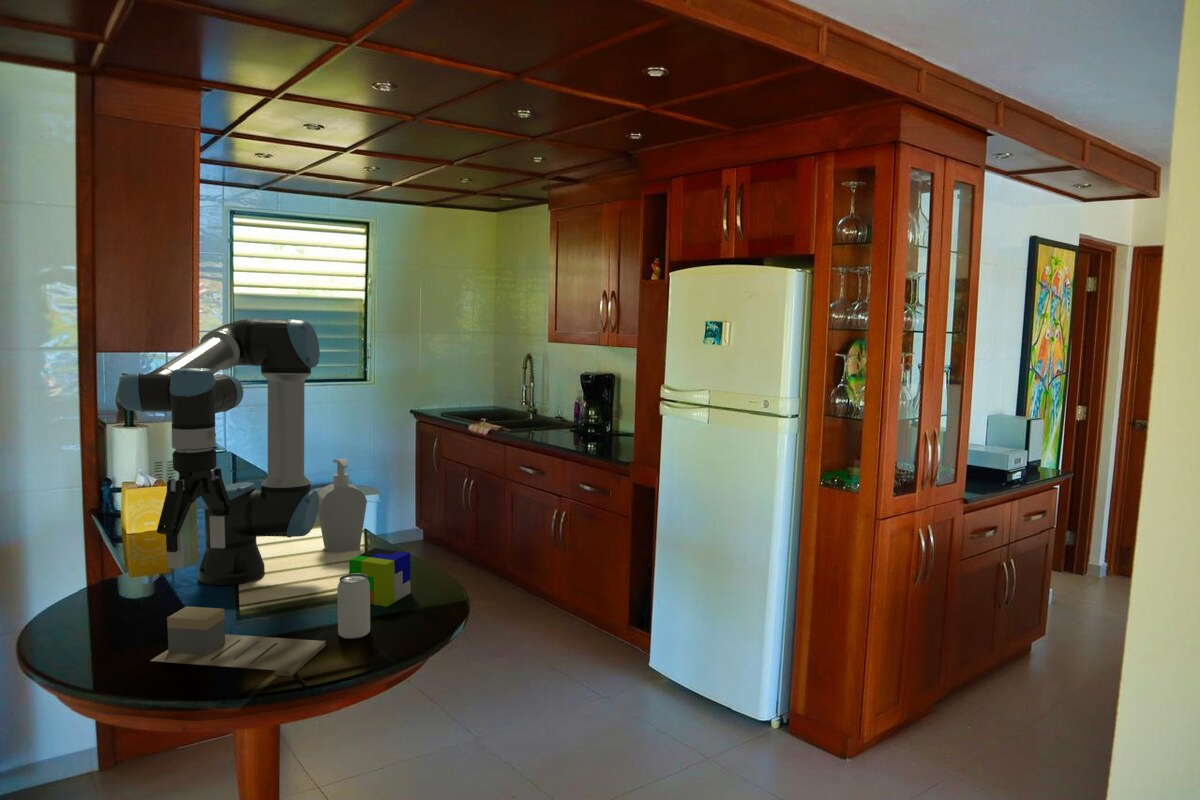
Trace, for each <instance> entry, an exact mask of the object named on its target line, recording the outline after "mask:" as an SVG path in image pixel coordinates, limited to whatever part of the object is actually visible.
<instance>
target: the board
mask: <svg viewBox="0 0 1200 800" xmlns="http://www.w3.org/2000/svg"><path fill="white" fill-rule="evenodd" d="M326 645H327V644H326V640H314V639H302V638H301V639H300V638H285V637H270V636H257V635H256V636H255V635H241V634H230V633H229V634H227V633H225V643H224V644H223V645H221V646H220V647H219V648H217V649H216V650H214V651H213V652H211V653H210V654H209V655H197V654H183V653H169V652H168V649H167V650H165V651H164V652H161V653H160V654H158V655H157V656H155V657H154V658H151V659H150V660H149V662H156V663H157V662H158V663H169V664H171V663H173V664H186V665H199V666H211V667H212V666H215V667H224V668H225V667H227V668H241V669H242V668H243V669H253V670H255V669H256V670H266V671H267V670H268V671H273V672H272V673H271V674H270V675H271V676H280V677H281V676H282V677H283V676H284V677H293V676H294V675H295V674H296V673H297V672H298V671H299V670H301V668H303V667H304V666H305V665H306V664H307V663H309V662H310V660H312V658H314V657H315V656H316V655H317V654H318V653H319V652H320V651H322V650H323V649H324V648H325V647H327V646H326Z"/></svg>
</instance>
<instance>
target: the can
mask: <svg viewBox="0 0 1200 800" xmlns="http://www.w3.org/2000/svg"><path fill="white" fill-rule="evenodd" d="M367 578H368V577H367V576H366V575H364V574H349V573H348V574H345V575H341V576H339V582H338V584H337V588H336V589H337V594H336V595H337V632H338V633H337V634H338V636H340V638H341V639H347V640H355V639H356V640H357V639H360V638H361V639H362V638H364V637H366V636H367V635H368V634H369V633H370V631H371V604H370V584H369V582H368V580H367Z"/></svg>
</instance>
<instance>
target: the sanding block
mask: <svg viewBox="0 0 1200 800" xmlns="http://www.w3.org/2000/svg"><path fill="white" fill-rule="evenodd" d="M225 618H226V617H225V608H218V607H201V606H185V607H183V608H182V609H179V610H178V611H176V612H174V613H173V614H172V613H171V615H169V616H167V617H166V621H167V644H168V645H167V646H168V647H167V648H168V649H167V650H168V652H169V653H183V654H197V655H209V654H210V653H211V652H213V651H214V650H216V649H217V648H219V647H220V646H221V645H223V644H224V643H225V634H226V624H225V623H226V621H225Z"/></svg>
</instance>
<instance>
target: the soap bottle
mask: <svg viewBox="0 0 1200 800" xmlns="http://www.w3.org/2000/svg"><path fill="white" fill-rule="evenodd" d="M332 463H336V473H334V474H333V476H332V477H333V483H330V484H328V485H326V486H324V487H323V488H321V490H320V491H318V497H319V509H318V514H317V516H318V520H319V525H320V531H321V536H322V541H323V542H322V543H323V545H324V549H325V550H326V551H327V553H328V554H337V553H345V552H353V551H359V550H360V549H361V542H362V537H363V536H362V535H363V529H364V523H365V517H366V511H367V504H368V503H367V502H368V500H367V497H366V495H365V493H363V492H362V491H361V490H360V489H359V488H358V487H356V486H355V485H353V484H351V483H350V482H349V478H350V477H349V473H347V472H346V473H345V469H346V468H348V467H349V465H348V464H349V463H348V459H347V458H336V459H333V460H332Z"/></svg>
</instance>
